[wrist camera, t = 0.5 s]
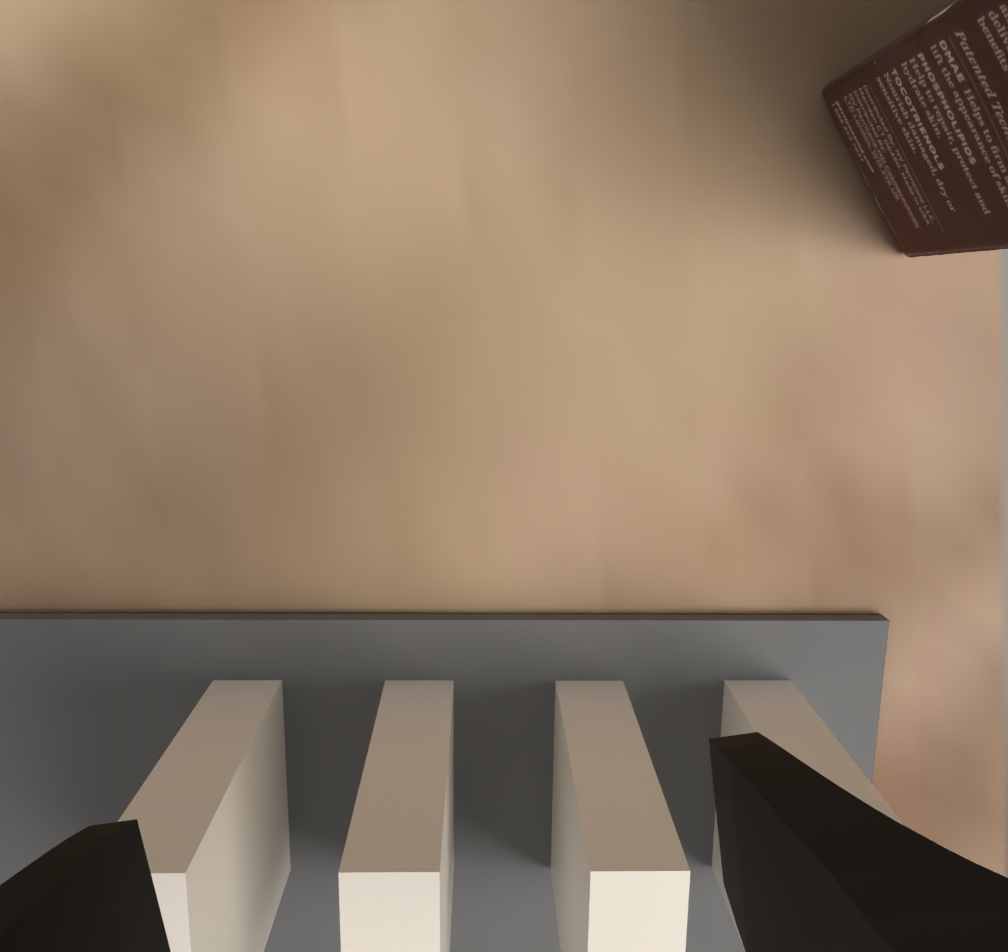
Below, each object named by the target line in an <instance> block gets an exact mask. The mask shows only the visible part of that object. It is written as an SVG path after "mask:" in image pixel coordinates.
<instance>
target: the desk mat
mask: <svg viewBox="0 0 1008 952" xmlns="http://www.w3.org/2000/svg"><path fill="white" fill-rule="evenodd" d="M888 628H889V620H888V619H886V618H885V617H884V616H883V615H813V614H268V613H0V885H1V884H2V883H4V882H5V881H7V880H8V879H9V878H11V877H12V876H14V875H15V874H16V873H18V872H19V871H21V870H22V869H23V868H25V867H26V866H28V865H29V864H30V863H32V862H33V861H35V860H36V859H38V858H39V857H40V856H42V855H43V854H45V853H46V852H48V851H49V850H51V849H52V848H54V847H55V846H57V845H58V844H60V843H61V842H63V841H64V840H66V839H67V838H69V837H71V836H72V835H74V834H76V833H77V832H79V831H81V830H83V829H85V828H86V827H88V826H92V825H99V824H106V823H113V822H118V820H119V819H120V817H121V816H122V814H123V813H124V812H125V810H126V809H127V807H128V806H129V804H130V803H131V801H132V800H133V798H134V797H135V795H136V794H137V792H138V791H139V789H140V788H141V786H142V785H143V783H144V782H145V780H146V779H147V777H148V776H149V775H150V773H151V772H152V770H153V769H154V767H155V766H156V764H157V763H158V761H159V760H160V758H161V757H162V755H163V754H164V752H165V751H166V749H167V748H168V746H169V745H170V743H171V742H172V740H173V739H174V738H175V736H176V735H177V733H178V732H179V730H180V729H181V727H182V726H183V724H184V723H185V721H186V720H187V718H188V717H189V715H190V714H191V712H192V711H193V709H194V708H195V706H196V705H197V703H198V702H199V700H200V699H201V698H202V696H203V695H204V693H205V692H206V690H207V689H208V687H209V686H210V684H211V683H212V681H213V680H282V686H283V708H284V731H285V753H286V776H287V798H288V821H289V844H290V866H291V870H290V873H289V876H288V879H287V882H286V885H285V888H284V891H283V894H282V897H281V901H280V904H279V907H278V910H277V913H276V916H275V919H274V922H273V925H272V928H271V931H270V934H269V937H268V940H267V943H266V947H265V950H264V952H341V939H340V908H339V876H338V872H339V868H340V864H341V860H342V856H343V852H344V847H345V843H346V839H347V835H348V831H349V827H350V823H351V819H352V815H353V810H354V806H355V802H356V798H357V794H358V790H359V786H360V782H361V778H362V774H363V769H364V765H365V761H366V757H367V753H368V749H369V745H370V741H371V737H372V732H373V728H374V724H375V720H376V716H377V712H378V708H379V704H380V700H381V695H382V691H383V687H384V683H385V680H454V873H453V893H452V914H451V934H450V952H560V943H559V935H558V926H557V918H556V909H555V901H554V892H553V883H552V875H551V838H552V798H553V758H554V718H555V681H623V682H624V685H625V687H626V690H627V693H628V696H629V699H630V701H631V704H632V707H633V710H634V713H635V716H636V718H637V721H638V724H639V727H640V730H641V733H642V735H643V738H644V741H645V744H646V747H647V750H648V752H649V755H650V758H651V761H652V764H653V767H654V769H655V772H656V775H657V778H658V781H659V783H660V786H661V789H662V792H663V795H664V798H665V800H666V803H667V806H668V809H669V812H670V815H671V817H672V820H673V823H674V826H675V829H676V832H677V834H678V837H679V840H680V843H681V846H682V848H683V851H684V854H685V857H686V860H687V863H688V865H689V868H690V886H689V902H688V918H687V934H686V950H685V952H745V951H744V948H743V946H742V943H741V941H740V938H739V936H738V933H737V931H736V928H735V926H734V923H733V920H732V918H731V915H730V913H729V910H728V908H727V905H726V903H725V900H724V897H723V895H722V892H721V890H720V887H719V885H718V882H717V880H716V877H715V875H714V872H713V869H712V855H713V840H714V825H715V811H716V806H715V796H714V786H713V776H712V767H711V757H710V747H709V739H711V738H718V737H721V722H722V707H723V693H724V680H792V682H793V683H794V684H795V686H796V687H797V688H798V689H799V691H800V692H801V693H802V695H803V696H804V697H805V698H806V700H807V701H808V702H809V704H810V705H811V706H812V707H813V709H814V710H815V711H816V713H817V714H818V715H819V717H820V718H821V719H822V720H823V722H824V723H825V724H826V726H827V727H828V728H829V729H830V731H831V732H832V733H833V735H834V736H835V737H836V738H837V740H838V741H839V742H840V744H841V745H842V746H843V747H844V749H845V750H846V751H847V753H848V754H849V755H850V756H851V758H852V759H853V760H854V762H855V763H856V764H857V765H858V767H859V768H860V769H861V771H862V772H863V773H864V774H865V776H866V777H867V778H868V780H869V781H870V782H871V783H872V776H873V767H874V757H875V748H876V739H877V730H878V720H879V711H880V702H881V693H882V683H883V674H884V665H885V656H886V646H887V637H888Z"/></svg>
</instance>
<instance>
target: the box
mask: <svg viewBox="0 0 1008 952" xmlns="http://www.w3.org/2000/svg"><path fill="white" fill-rule="evenodd" d="M823 97H824V99H825V101H826V103H827V105H828V107H829V109H830V110H831V112H832V114H833V116H834V118H835V120H836V122H837V124H838V126H839V128H840V130H841V132H842V134H843V136H844V138H845V140H846V142H847V144H848V146H849V148H850V150H851V152H852V154H853V156H854V158H855V160H856V162H857V164H858V166H859V168H860V170H861V173H862V175H863V177H864V179H865V181H866V183H867V184H868V186H869V187H870V189H871V191H872V193H873V195H874V197H875V200H876V202H877V204H878V206H879V208H880V210H881V212H882V213H883V215H884V216H885V218H886V220H887V222H888V224H889V227H890V229H891V230H892V232H893V233H894V235H895V237H896V239H897V241H898V243H899V245H900V247H901V249H902V251H903V253H904V254H905V255H906V256H908V257H917V256H932V255H943V254H952V253H963V252H976V251H989V250H998V249H1008V0H955V1H954V2H952V3H951V4H949V5H948V6H946V7H945V8H943V9H942V10H940V11H938V12H937V13H935V14H934V15H932V16H931V17H929V18H928V19H926V20H925V21H923V22H922V23H920V24H919V25H917V26H915V27H914V28H912V29H911V30H909V31H908V32H906V33H905V34H903V35H902V36H900V37H899V38H897V39H896V40H894V41H893V42H891V43H890V44H888V45H887V46H885V47H884V48H882V49H881V50H879V51H878V52H876V53H875V54H873V55H872V56H871V57H869V58H868V59H866V60H865V61H863V62H862V63H860V64H858V65H857V66H856V67H854V68H853V69H851V70H850V71H848V72H847V73H845V74H844V75H842V76H840V77H839V78H837V79H835V80H834V81H832V82H831V83H829V84H828V85H827V86H825V88H824V90H823Z"/></svg>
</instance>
